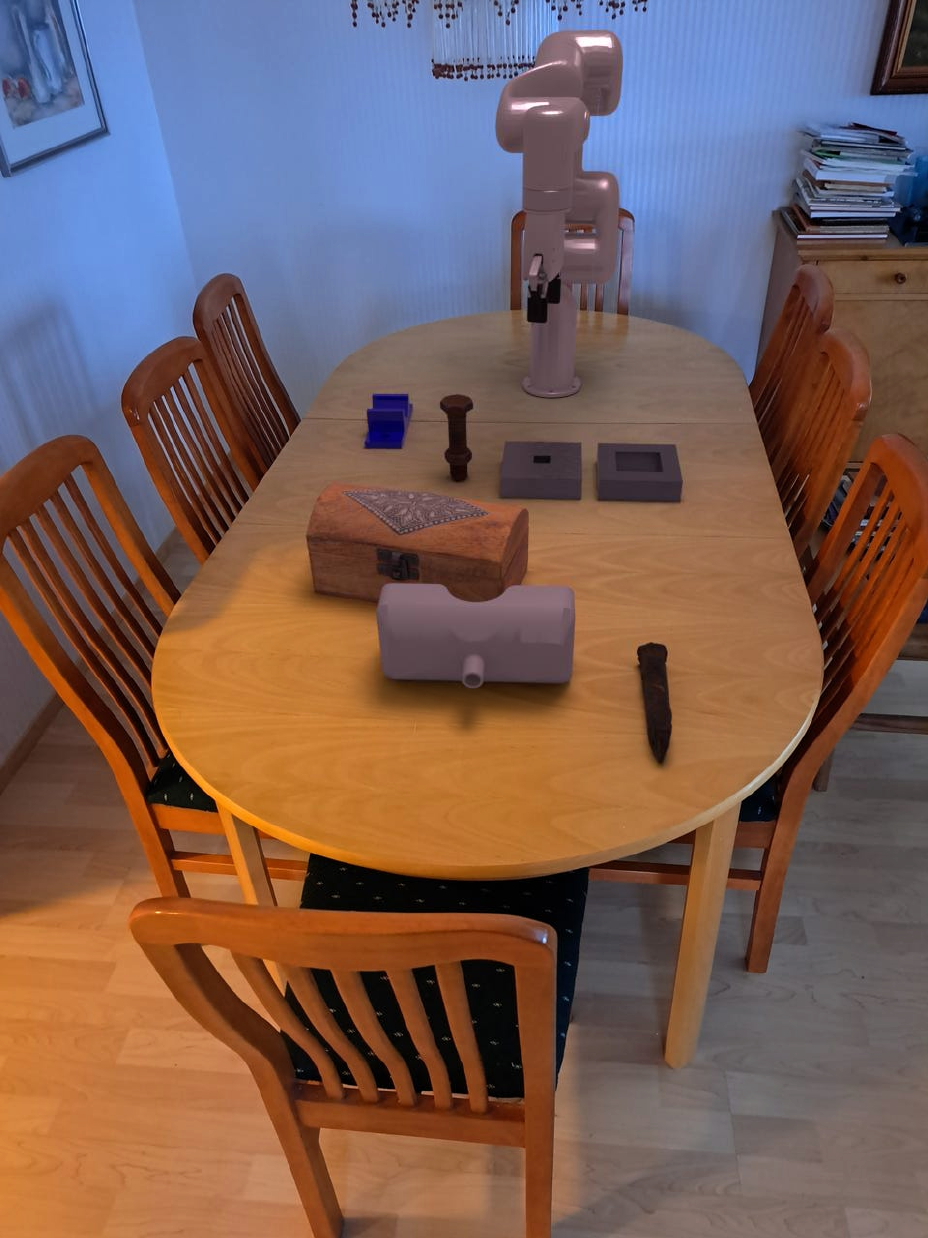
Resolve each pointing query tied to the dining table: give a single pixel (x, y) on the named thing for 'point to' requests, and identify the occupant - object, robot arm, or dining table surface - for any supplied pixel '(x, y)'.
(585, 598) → the dining table surface
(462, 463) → the bolt
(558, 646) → the tank
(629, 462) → the wide-bore block
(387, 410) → the mounting bracket
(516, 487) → the narrow-bore block
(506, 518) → the wooden box
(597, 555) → the dining table surface
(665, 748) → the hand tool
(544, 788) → the dining table surface
